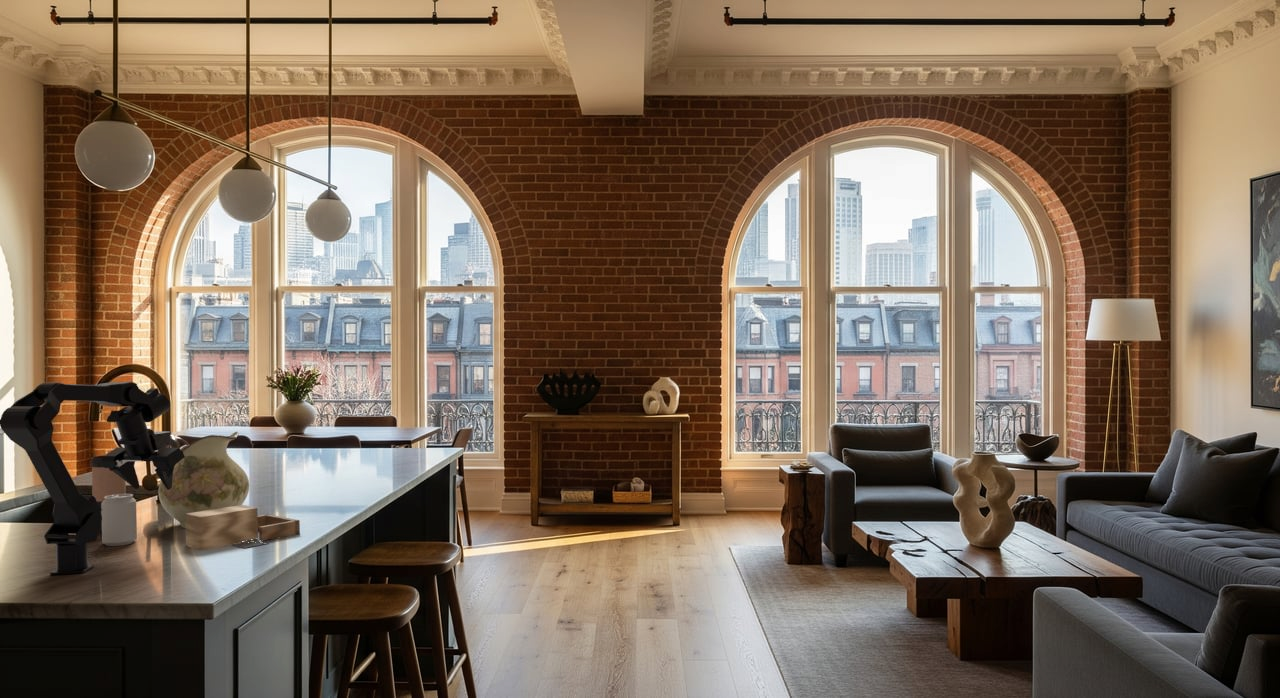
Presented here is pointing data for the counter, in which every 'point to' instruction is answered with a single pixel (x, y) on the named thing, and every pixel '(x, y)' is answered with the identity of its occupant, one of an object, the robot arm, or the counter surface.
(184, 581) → the counter surface
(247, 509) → the oak block
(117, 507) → the can
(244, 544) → the plate
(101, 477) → the travel mug
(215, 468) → the pitcher
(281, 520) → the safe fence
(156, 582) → the counter surface
